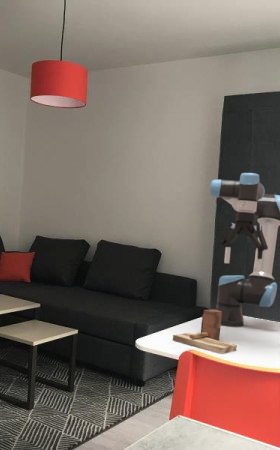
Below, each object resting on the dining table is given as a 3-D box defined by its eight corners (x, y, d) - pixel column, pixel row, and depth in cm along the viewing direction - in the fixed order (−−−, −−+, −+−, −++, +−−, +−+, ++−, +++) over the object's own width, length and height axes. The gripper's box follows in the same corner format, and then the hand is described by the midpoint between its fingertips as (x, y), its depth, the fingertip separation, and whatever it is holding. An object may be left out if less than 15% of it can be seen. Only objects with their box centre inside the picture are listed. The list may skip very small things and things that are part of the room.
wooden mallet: (209, 339, 205) (212, 309, 205) (219, 341, 202) (221, 311, 202) (186, 343, 193) (188, 311, 193) (195, 346, 190) (198, 314, 190)
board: (187, 337, 203) (188, 332, 203) (236, 350, 189) (236, 344, 189) (172, 340, 196) (173, 334, 196) (221, 353, 181) (222, 348, 181)
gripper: (214, 209, 209) (209, 261, 209) (270, 213, 192) (265, 269, 192) (224, 211, 214) (219, 261, 214) (279, 214, 198) (274, 269, 198)
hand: (241, 265), depth 203 cm, fingers open, 13 cm apart
